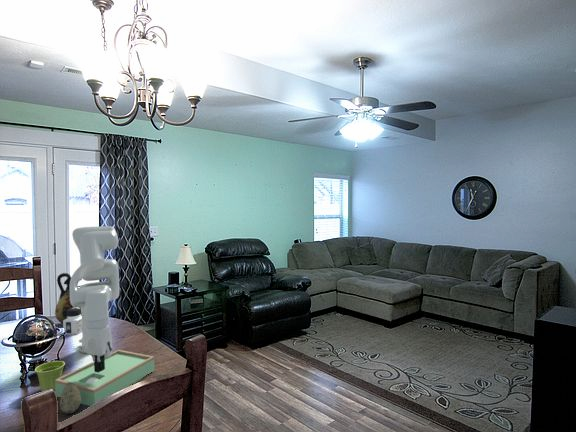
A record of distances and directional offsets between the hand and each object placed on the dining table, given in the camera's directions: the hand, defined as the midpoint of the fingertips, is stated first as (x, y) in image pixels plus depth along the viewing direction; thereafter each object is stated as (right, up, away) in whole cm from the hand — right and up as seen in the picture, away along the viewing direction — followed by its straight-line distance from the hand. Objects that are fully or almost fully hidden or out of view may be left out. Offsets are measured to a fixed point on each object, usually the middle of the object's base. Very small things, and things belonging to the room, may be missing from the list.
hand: (99, 370), depth 135 cm
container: (-45, -5, +60) cm, 75 cm away
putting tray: (+1, -6, +4) cm, 7 cm away
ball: (-1, -4, -3) cm, 5 cm away
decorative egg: (-1, -7, -16) cm, 17 cm away
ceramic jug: (-56, -5, +73) cm, 92 cm away
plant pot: (-18, -7, 0) cm, 20 cm away
